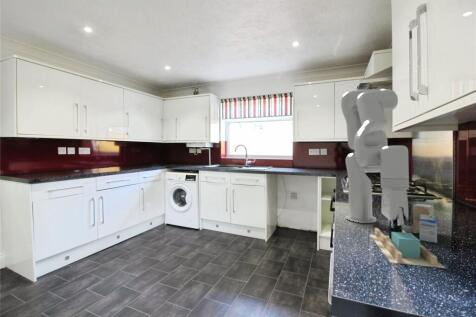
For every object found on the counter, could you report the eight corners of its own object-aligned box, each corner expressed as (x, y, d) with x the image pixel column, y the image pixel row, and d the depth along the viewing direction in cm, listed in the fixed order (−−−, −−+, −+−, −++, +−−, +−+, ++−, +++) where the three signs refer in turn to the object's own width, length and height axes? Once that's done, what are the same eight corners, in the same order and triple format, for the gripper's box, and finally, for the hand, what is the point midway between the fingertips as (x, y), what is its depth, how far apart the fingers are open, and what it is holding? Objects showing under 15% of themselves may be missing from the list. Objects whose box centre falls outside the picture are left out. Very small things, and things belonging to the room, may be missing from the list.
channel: (369, 238, 81) (369, 227, 81) (408, 241, 77) (408, 229, 77) (390, 267, 60) (390, 252, 60) (445, 273, 56) (445, 258, 56)
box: (412, 233, 84) (412, 204, 84) (417, 231, 87) (417, 203, 87) (430, 237, 80) (429, 207, 80) (434, 235, 82) (434, 205, 82)
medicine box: (419, 237, 81) (419, 213, 81) (436, 240, 78) (435, 215, 78) (419, 244, 75) (419, 218, 75) (437, 247, 72) (436, 220, 72)
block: (391, 247, 69) (391, 231, 69) (411, 249, 67) (410, 233, 67) (399, 256, 63) (398, 238, 63) (420, 258, 62) (420, 240, 62)
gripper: (374, 181, 81) (375, 231, 81) (388, 186, 66) (390, 247, 67) (399, 181, 78) (400, 233, 78) (419, 186, 64) (420, 250, 64)
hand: (395, 239), depth 73 cm, fingers closed
